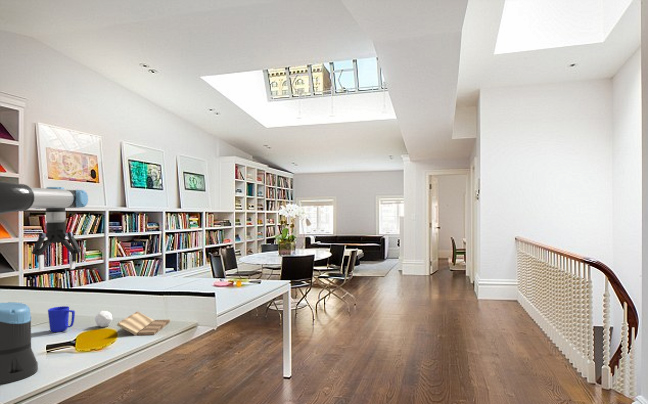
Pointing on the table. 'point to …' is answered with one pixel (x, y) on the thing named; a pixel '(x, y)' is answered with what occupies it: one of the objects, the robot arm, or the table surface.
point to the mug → (60, 318)
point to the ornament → (103, 319)
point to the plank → (135, 322)
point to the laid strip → (154, 327)
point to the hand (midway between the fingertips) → (57, 269)
